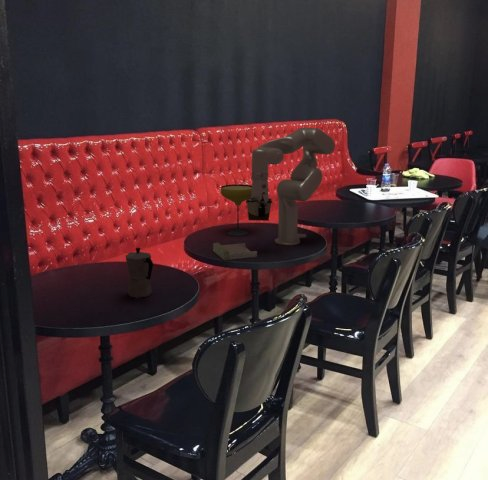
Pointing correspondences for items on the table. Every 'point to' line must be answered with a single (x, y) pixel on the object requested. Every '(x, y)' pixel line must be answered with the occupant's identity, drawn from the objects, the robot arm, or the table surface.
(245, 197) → the cocktail glass
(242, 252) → the chute mount
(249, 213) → the food container
